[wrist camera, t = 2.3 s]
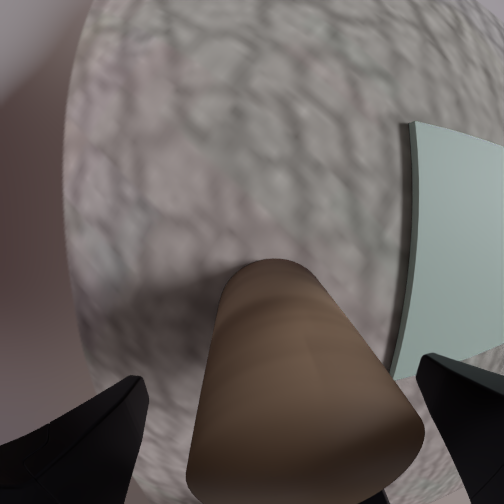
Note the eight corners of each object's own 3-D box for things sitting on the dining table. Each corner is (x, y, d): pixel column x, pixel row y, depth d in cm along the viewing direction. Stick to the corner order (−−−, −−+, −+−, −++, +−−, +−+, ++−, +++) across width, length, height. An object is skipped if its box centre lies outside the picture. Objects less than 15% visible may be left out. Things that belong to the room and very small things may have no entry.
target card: (514, 333, 14) (518, 336, 14) (388, 375, 14) (392, 381, 13) (535, 162, 11) (540, 162, 11) (408, 123, 11) (415, 121, 10)
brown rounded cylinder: (321, 351, 13) (385, 500, 5) (223, 357, 13) (206, 522, 4) (327, 256, 12) (458, 372, 4) (215, 260, 12) (157, 410, 3)
